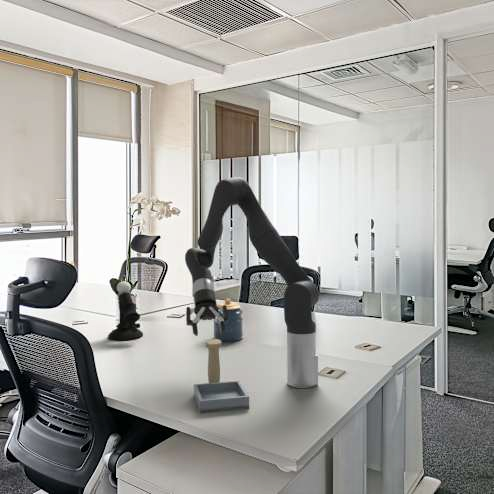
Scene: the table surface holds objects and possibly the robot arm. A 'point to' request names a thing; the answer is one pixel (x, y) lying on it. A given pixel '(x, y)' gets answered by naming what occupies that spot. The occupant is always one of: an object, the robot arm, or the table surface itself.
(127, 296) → the sculpture
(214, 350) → the beige club-shaped piece
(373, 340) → the table surface
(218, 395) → the tray
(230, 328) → the canister
